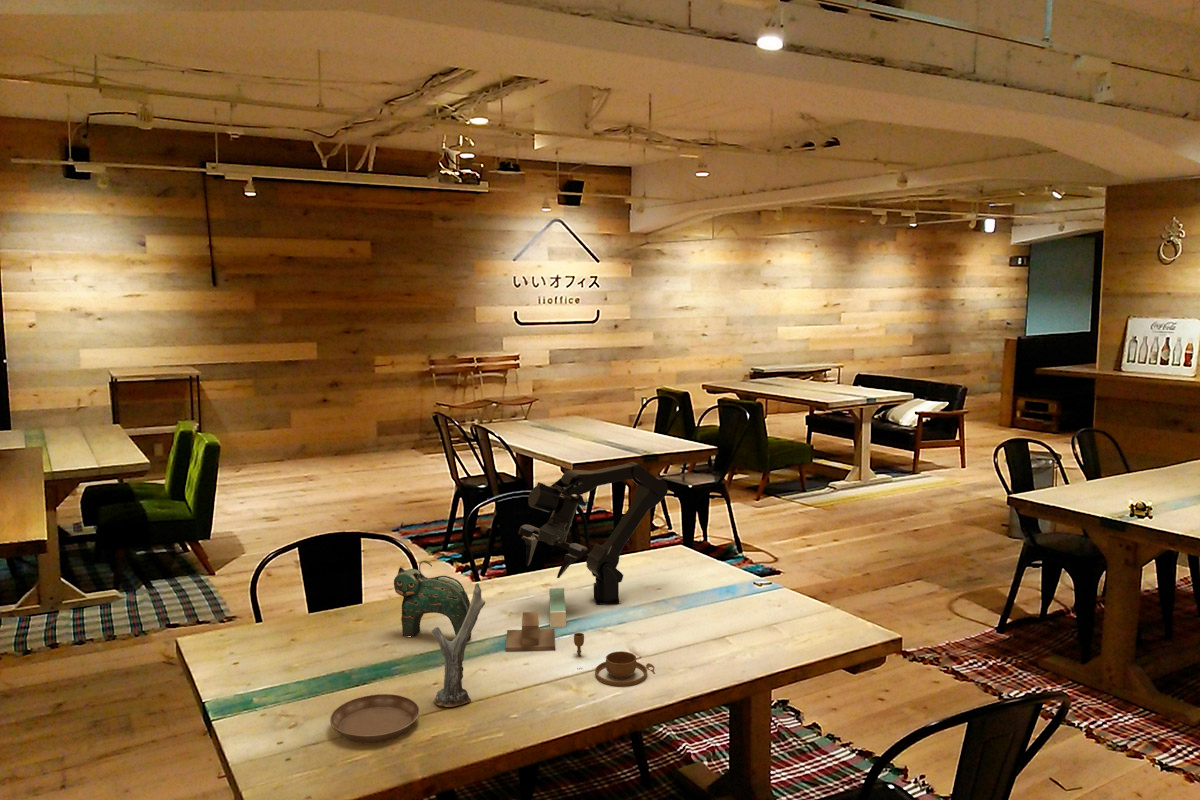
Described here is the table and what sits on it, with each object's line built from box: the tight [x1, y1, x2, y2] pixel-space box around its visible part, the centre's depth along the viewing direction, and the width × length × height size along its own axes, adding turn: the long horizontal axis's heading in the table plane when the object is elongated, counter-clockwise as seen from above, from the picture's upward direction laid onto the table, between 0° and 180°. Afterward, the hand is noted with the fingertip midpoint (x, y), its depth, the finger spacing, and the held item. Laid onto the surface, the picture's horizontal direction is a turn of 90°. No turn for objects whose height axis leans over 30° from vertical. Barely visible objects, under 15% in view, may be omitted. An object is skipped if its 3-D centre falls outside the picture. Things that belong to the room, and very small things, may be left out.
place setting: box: [573, 632, 656, 687], centre depth 213 cm, size 18×20×6 cm
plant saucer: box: [329, 693, 421, 745], centre depth 187 cm, size 18×18×3 cm
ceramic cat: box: [393, 560, 472, 643], centre depth 230 cm, size 20×6×20 cm, turn 73°
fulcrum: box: [505, 611, 556, 653], centre depth 228 cm, size 12×11×6 cm
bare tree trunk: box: [431, 582, 486, 708], centre depth 197 cm, size 12×8×25 cm
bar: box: [548, 587, 567, 629], centre depth 246 cm, size 18×4×4 cm, turn 4°
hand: (542, 571), depth 246 cm, fingers open, 9 cm apart
